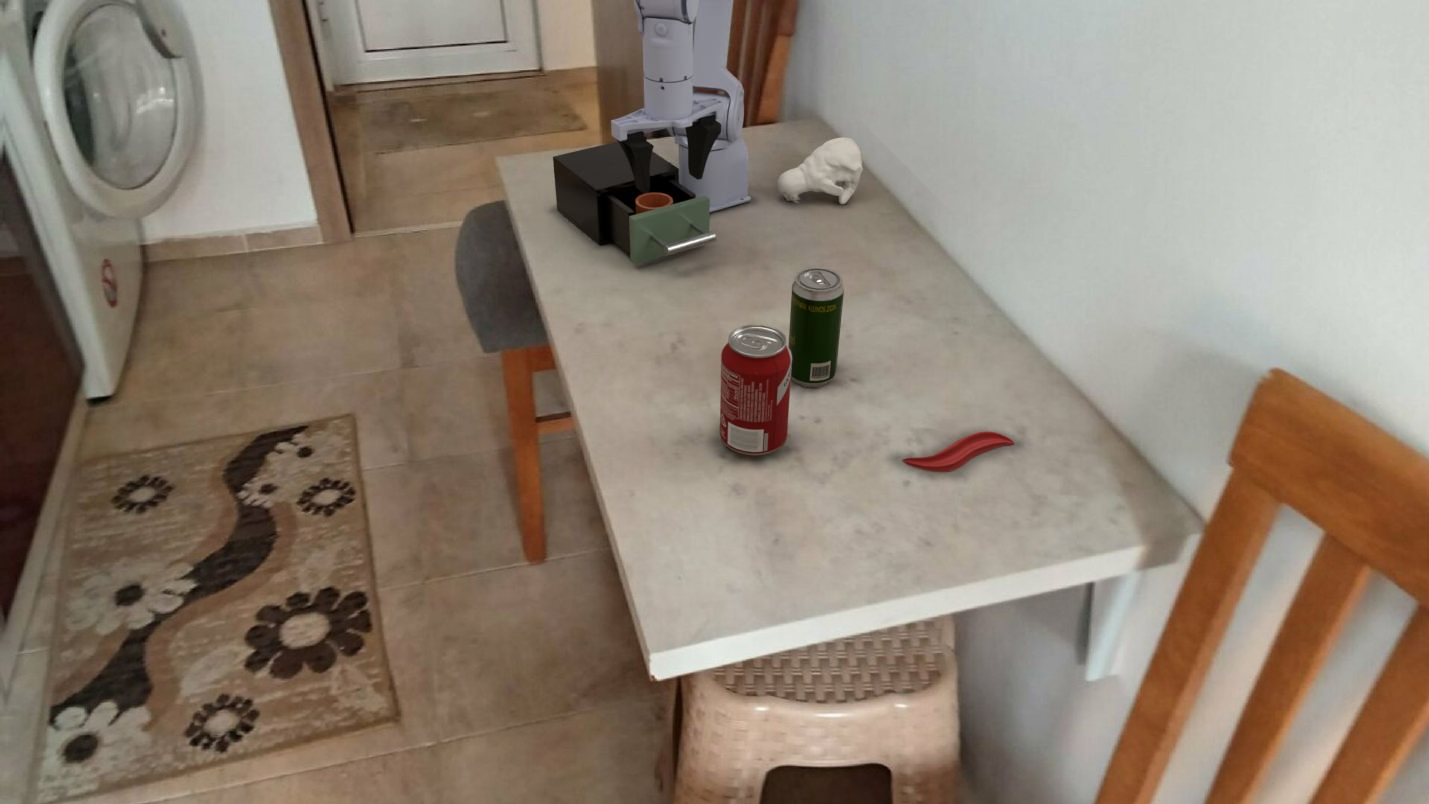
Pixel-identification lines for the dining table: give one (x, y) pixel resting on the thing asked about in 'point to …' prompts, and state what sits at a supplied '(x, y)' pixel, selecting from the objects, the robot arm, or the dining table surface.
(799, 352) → the beer can
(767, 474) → the dining table surface
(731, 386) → the soda can
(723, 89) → the robot arm
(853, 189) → the white lumpy figure
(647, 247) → the green drawer
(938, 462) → the cayenne pepper
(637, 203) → the cup
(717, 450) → the dining table surface
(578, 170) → the drawer cabinet
